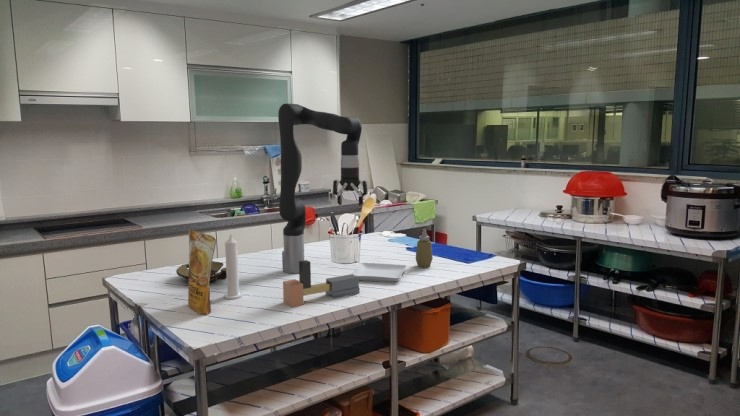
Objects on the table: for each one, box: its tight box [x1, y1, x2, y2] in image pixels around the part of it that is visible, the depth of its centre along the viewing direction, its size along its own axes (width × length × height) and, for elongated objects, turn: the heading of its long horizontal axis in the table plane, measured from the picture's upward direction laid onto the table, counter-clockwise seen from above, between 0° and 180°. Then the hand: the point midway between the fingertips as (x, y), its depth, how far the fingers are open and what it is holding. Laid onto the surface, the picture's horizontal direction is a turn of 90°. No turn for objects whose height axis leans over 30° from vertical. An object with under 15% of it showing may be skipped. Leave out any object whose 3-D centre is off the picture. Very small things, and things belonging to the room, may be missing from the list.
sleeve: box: [325, 273, 361, 299], centre depth 209 cm, size 12×6×6 cm, turn 122°
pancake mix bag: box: [187, 229, 217, 315], centre depth 191 cm, size 7×19×28 cm, turn 39°
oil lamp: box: [175, 260, 227, 282], centre depth 228 cm, size 22×30×8 cm
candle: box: [223, 233, 244, 300], centre depth 205 cm, size 7×7×25 cm
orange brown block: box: [282, 278, 305, 308], centre depth 198 cm, size 5×7×8 cm
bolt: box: [298, 259, 331, 297], centre depth 202 cm, size 20×3×13 cm, turn 122°
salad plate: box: [352, 262, 407, 283], centre depth 234 cm, size 21×21×3 cm
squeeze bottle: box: [415, 228, 433, 268], centre depth 249 cm, size 8×8×18 cm
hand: (350, 205), depth 220 cm, fingers open, 8 cm apart
